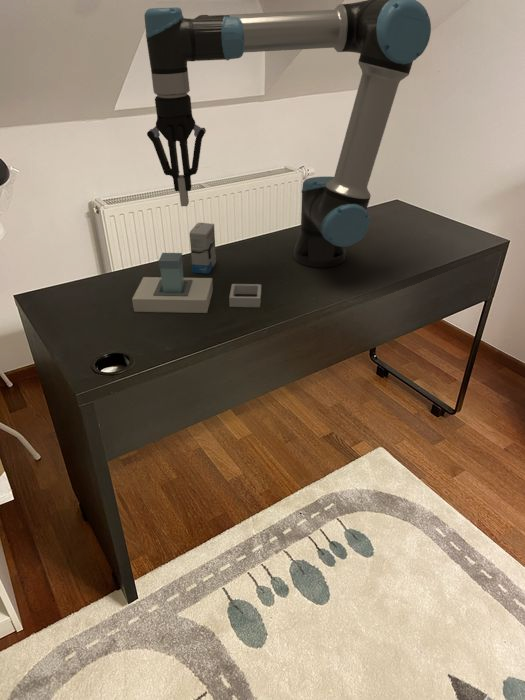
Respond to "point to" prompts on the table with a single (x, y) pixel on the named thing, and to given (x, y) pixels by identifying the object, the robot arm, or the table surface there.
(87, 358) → the table surface
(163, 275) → the plug
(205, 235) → the ink box
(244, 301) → the grey square frame
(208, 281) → the port
